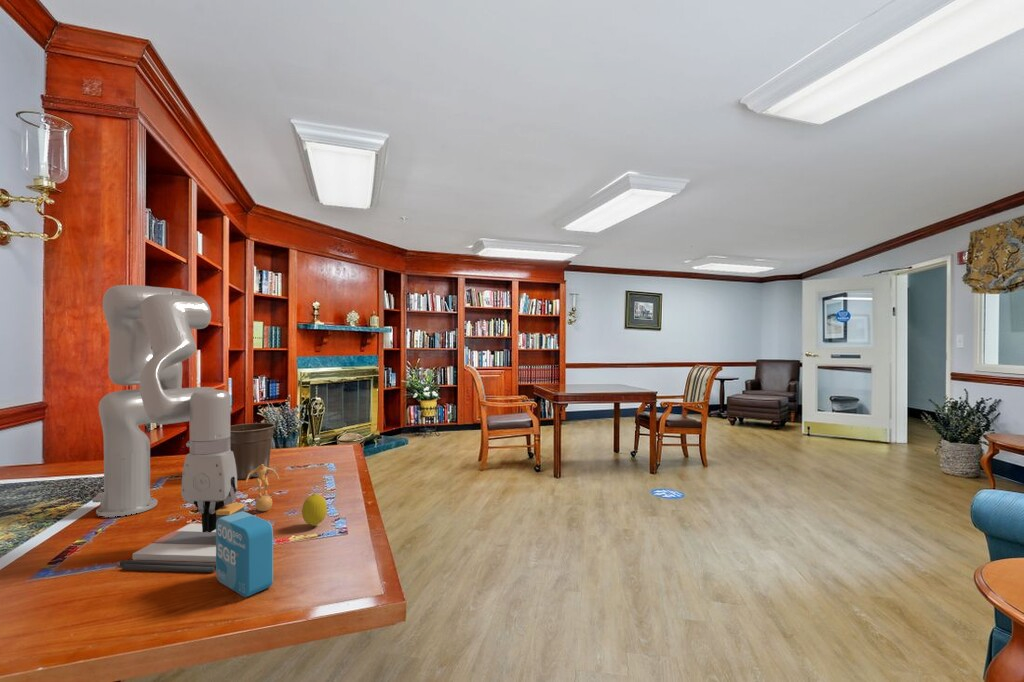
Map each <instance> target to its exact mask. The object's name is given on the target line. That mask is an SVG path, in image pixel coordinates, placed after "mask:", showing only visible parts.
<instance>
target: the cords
mask: <svg viewBox="0 0 1024 682" xmlns="http://www.w3.org/2000/svg"><path fill="white" fill-rule="evenodd" d="M119 566H120V567H121V570H123V571H145V572H146V571H148V572H149V571H150V572H151V571H153V572H181V573H207V574H208V573H209V574H213V573H214V572H216V562H196V561H163V560H133V559H131V560H127V559H121V560H120V562H119Z"/></svg>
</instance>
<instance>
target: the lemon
mask: <svg viewBox="0 0 1024 682" xmlns="http://www.w3.org/2000/svg"><path fill="white" fill-rule="evenodd" d="M301 507H302V508H301V515H302V519H303V521H304V522H305V523H306V524H308V525H310V526H312V527H313V526H315V527H317V526H318V525H319V524H321V523H322V522H323V521H324V519H325V518H326V516H327V511H328V505H327V501H326V499H325V497H323V496H322V495H320V494H317V493H316V492H314V493H312V494H311V495H309V496H307V498H305V500H304V502H303V504H302V506H301Z"/></svg>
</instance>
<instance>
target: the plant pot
mask: <svg viewBox="0 0 1024 682" xmlns="http://www.w3.org/2000/svg"><path fill="white" fill-rule="evenodd" d="M275 428H276V424H274V423H272V422H271V423H270V422H257V423H256V422H254V423H252V422H251V423H239V424H234V425H233V424H232V425H230V441H231V448H230V449H231V451H233V454H234V458H235V463H236V471H237V481H240V480H246V479H247V476H248V474H249V473H250V472H251V471H253V470H254V469H256V468H257V467H258V466H260V465H261V464H263V465H264V466H265V467H268V468H270V459H271V451H272V442H273V441H272V440H273V439H272V438H273V437H274V429H275ZM269 472H270V471H269V470H266V473H265V474H266V475H267V474H268V473H269ZM252 477H253V478H259V476H258V474H257V472H254V473H253V474H251V475H250V476H249V479H251V478H252Z"/></svg>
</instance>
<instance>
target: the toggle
mask: <svg viewBox="0 0 1024 682" xmlns="http://www.w3.org/2000/svg"><path fill="white" fill-rule="evenodd" d="M242 511H244V512H245V502H244V503H243V502H234V503H232V504H228V505H225V506H224V507H223V508H221V509H219V510H217V511H216V522H217V520H218V519H219V518H221V517H224V516H228V515H231V514H235V513H238V512H242Z"/></svg>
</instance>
